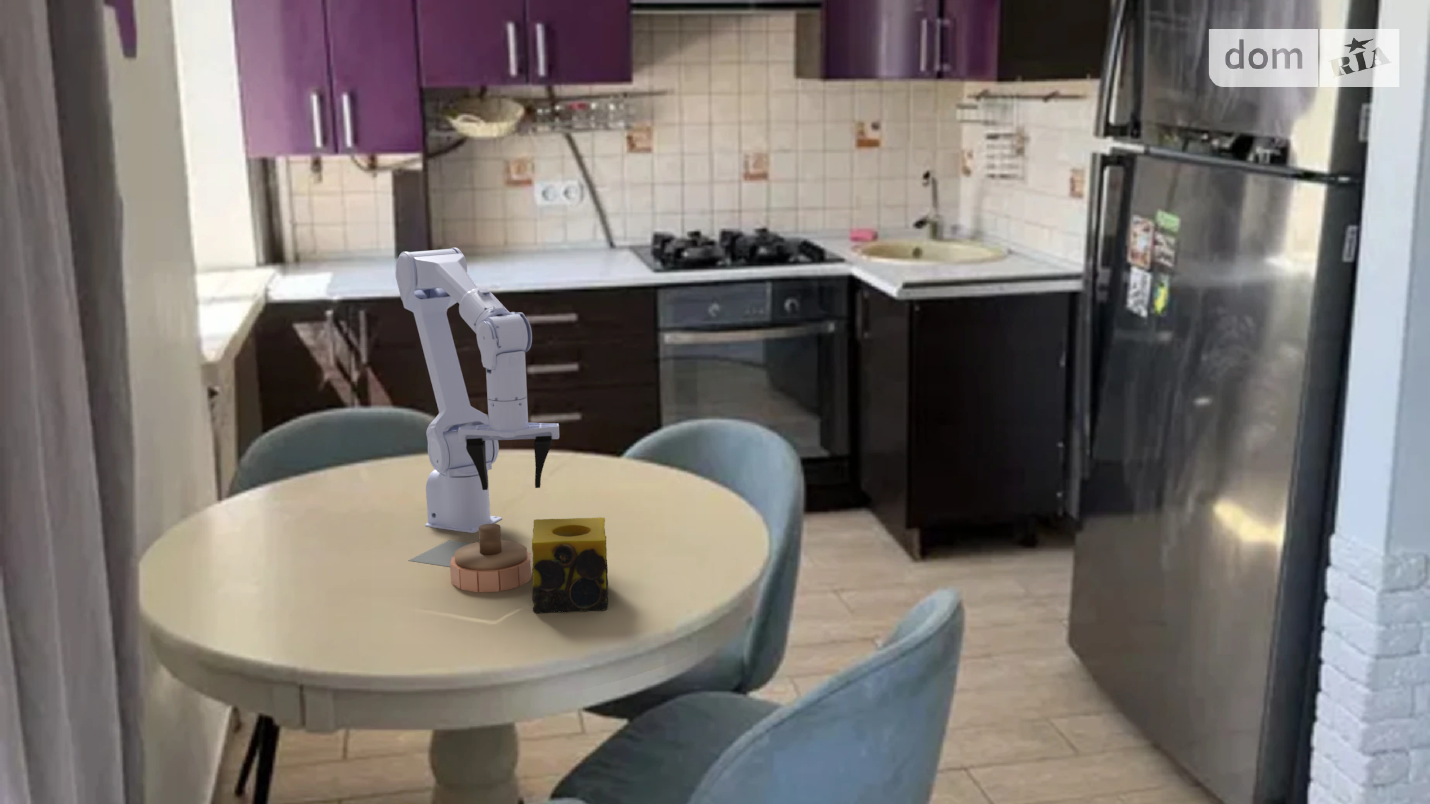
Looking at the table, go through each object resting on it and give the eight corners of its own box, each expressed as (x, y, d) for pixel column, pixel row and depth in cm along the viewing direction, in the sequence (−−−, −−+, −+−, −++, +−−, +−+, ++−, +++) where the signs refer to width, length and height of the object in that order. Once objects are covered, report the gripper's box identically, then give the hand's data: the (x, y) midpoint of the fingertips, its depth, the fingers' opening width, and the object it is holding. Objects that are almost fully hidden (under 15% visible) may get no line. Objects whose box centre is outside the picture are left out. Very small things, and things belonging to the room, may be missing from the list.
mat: (408, 562, 200) (408, 560, 200) (449, 542, 209) (448, 540, 209) (465, 571, 196) (465, 569, 196) (504, 550, 205) (504, 548, 205)
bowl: (436, 587, 190) (434, 565, 189) (481, 563, 200) (480, 542, 199) (503, 598, 185) (502, 576, 185) (546, 573, 195) (545, 551, 194)
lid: (440, 565, 189) (438, 533, 188) (478, 543, 198) (477, 513, 197) (504, 573, 185) (502, 541, 184) (540, 551, 194) (538, 520, 193)
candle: (535, 588, 189) (531, 518, 187) (608, 584, 190) (606, 515, 188) (531, 615, 180) (528, 542, 177) (609, 611, 180) (606, 539, 178)
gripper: (454, 404, 195) (459, 496, 198) (556, 401, 196) (560, 492, 199) (458, 394, 202) (463, 483, 205) (557, 391, 203) (561, 479, 206)
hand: (511, 487), depth 202 cm, fingers open, 7 cm apart
